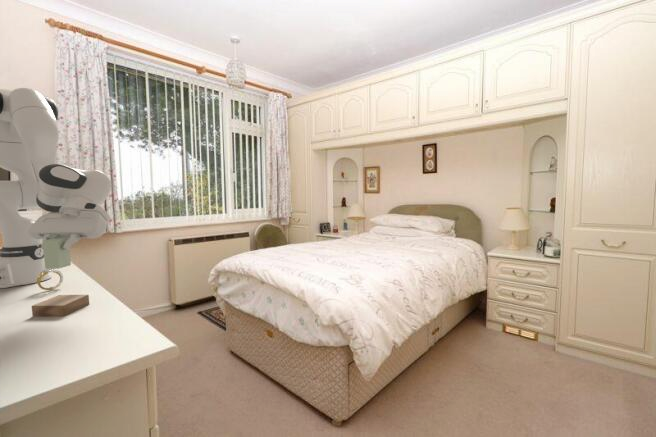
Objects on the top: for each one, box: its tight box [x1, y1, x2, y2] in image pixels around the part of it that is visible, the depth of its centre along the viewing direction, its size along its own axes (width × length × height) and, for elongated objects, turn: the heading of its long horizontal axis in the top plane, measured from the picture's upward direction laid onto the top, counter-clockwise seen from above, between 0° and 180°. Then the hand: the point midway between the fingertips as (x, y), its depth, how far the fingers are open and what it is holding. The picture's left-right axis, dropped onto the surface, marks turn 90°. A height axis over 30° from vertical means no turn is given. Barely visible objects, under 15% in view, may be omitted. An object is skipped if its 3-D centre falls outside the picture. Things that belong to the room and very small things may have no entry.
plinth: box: [31, 294, 90, 317], centre depth 92 cm, size 9×9×3 cm
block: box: [42, 238, 72, 270], centre depth 91 cm, size 4×4×8 cm
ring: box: [36, 269, 64, 291], centre depth 111 cm, size 7×3×8 cm, turn 140°
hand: (54, 248), depth 90 cm, fingers closed on block, 4 cm apart
